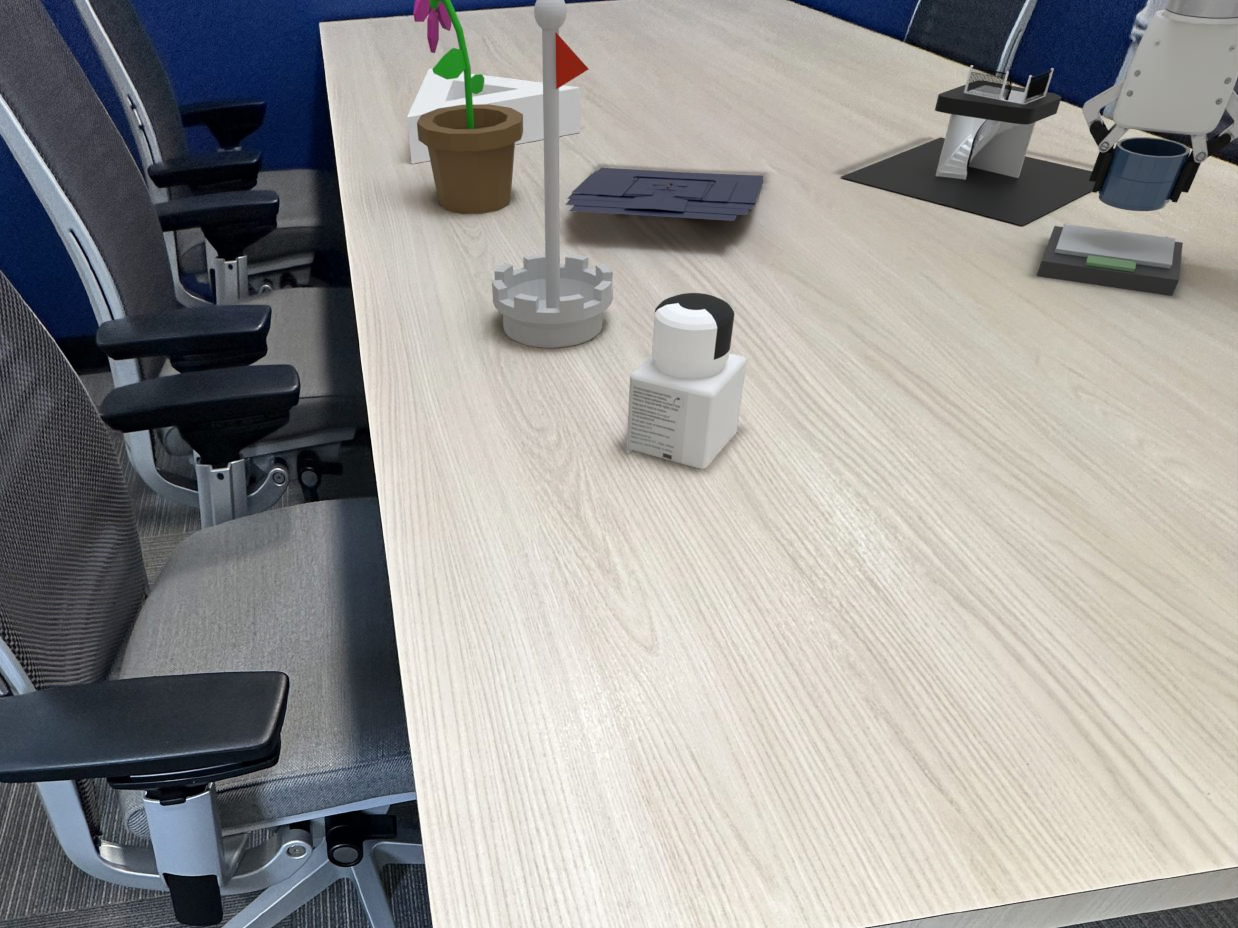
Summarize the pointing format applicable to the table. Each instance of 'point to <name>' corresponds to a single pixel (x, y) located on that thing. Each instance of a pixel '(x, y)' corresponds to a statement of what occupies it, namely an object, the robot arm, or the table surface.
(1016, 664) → the table surface
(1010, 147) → the black-topped pedestal
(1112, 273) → the scale
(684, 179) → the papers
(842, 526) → the table surface
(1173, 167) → the blue cup
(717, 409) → the container
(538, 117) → the triangle block
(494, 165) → the flowerpot
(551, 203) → the flag stand
